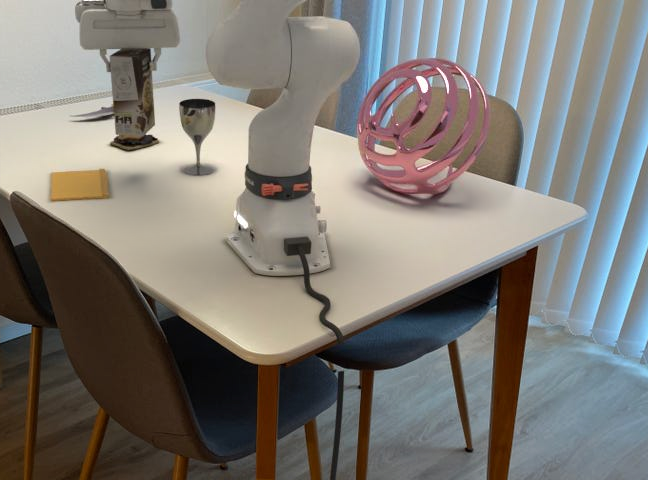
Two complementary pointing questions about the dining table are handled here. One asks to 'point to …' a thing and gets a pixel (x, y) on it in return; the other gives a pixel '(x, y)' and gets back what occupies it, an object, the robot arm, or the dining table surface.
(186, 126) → the wine glass
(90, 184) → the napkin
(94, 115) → the knife
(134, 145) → the open sandwich
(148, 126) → the coffee box
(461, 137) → the spiral basket
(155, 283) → the dining table surface
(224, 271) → the dining table surface
